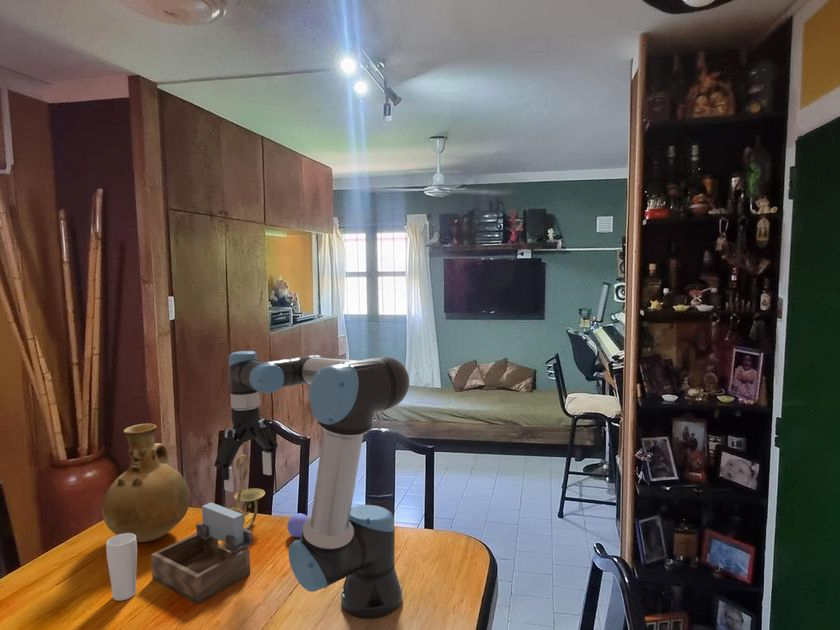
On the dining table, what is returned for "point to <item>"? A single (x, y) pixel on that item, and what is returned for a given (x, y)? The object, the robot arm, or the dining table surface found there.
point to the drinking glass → (122, 565)
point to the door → (223, 522)
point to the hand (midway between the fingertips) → (249, 482)
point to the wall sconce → (246, 494)
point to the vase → (146, 490)
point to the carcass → (202, 564)
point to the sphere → (296, 524)
